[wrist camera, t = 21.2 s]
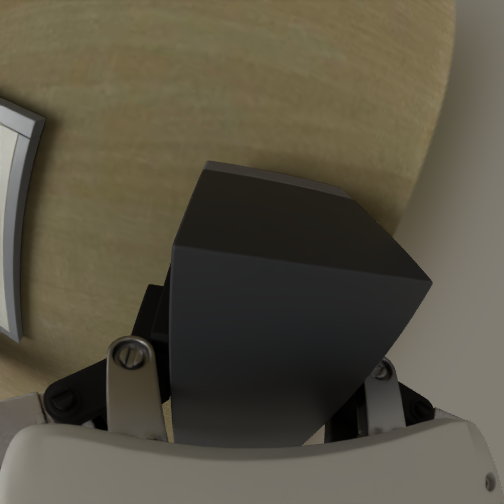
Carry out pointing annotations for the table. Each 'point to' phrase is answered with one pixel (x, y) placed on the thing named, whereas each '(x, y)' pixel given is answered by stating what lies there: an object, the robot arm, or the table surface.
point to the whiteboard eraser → (278, 307)
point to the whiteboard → (14, 204)
